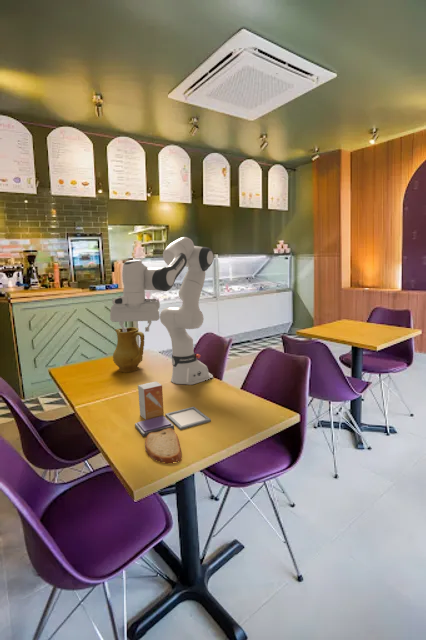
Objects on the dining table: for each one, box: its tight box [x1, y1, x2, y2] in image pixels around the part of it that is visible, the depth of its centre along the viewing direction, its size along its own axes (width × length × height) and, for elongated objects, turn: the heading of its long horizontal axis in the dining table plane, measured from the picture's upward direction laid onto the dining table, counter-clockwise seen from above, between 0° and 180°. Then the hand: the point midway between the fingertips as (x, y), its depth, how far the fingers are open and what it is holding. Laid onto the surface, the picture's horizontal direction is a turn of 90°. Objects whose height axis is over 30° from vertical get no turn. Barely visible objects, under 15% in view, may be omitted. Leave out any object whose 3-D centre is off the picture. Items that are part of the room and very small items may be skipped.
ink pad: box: [134, 415, 175, 437], centre depth 135 cm, size 12×10×2 cm
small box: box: [137, 381, 165, 421], centre depth 145 cm, size 8×6×13 cm
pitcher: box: [112, 326, 145, 373], centre depth 210 cm, size 17×19×25 cm
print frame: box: [164, 406, 212, 430], centre depth 142 cm, size 13×15×1 cm
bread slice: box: [144, 428, 183, 464], centre depth 120 cm, size 18×18×4 cm
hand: (136, 331), depth 150 cm, fingers open, 8 cm apart
